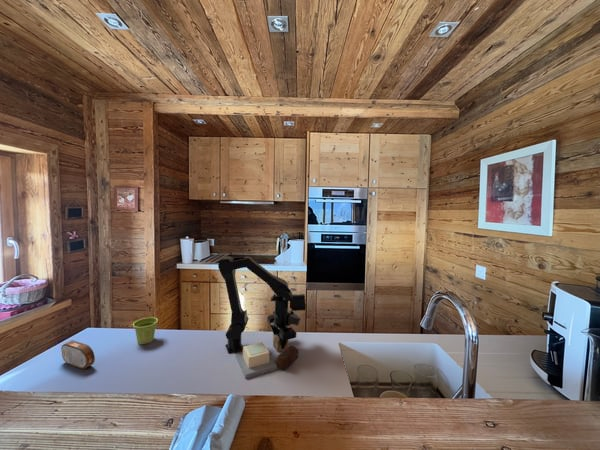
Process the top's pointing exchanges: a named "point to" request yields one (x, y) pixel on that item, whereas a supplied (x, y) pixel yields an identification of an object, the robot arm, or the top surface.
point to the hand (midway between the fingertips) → (280, 345)
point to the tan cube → (278, 344)
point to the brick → (287, 358)
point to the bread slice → (78, 354)
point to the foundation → (255, 360)
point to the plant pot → (145, 329)
